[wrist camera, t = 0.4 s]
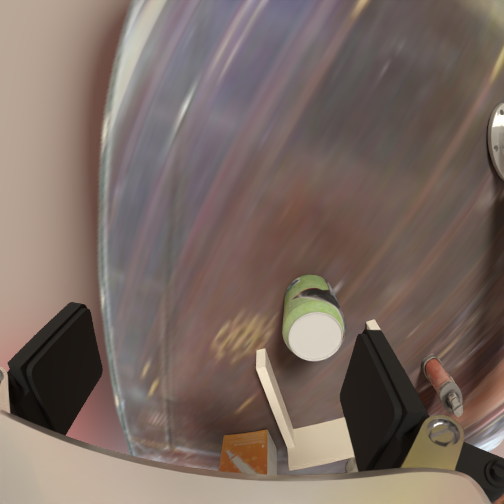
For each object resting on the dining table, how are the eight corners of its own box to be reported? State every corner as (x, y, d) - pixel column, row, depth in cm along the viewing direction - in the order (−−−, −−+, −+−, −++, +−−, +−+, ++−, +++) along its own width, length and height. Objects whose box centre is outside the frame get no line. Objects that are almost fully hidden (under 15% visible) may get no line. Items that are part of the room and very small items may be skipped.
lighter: (447, 376, 43) (471, 413, 33) (431, 387, 43) (453, 426, 34) (435, 350, 41) (463, 389, 31) (418, 362, 41) (443, 404, 32)
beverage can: (305, 324, 39) (319, 386, 28) (266, 288, 38) (267, 344, 27) (342, 292, 38) (371, 347, 26) (304, 253, 36) (322, 299, 25)
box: (374, 319, 39) (394, 353, 31) (380, 410, 45) (393, 444, 37) (256, 350, 41) (255, 390, 33) (287, 434, 47) (290, 470, 39)
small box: (267, 427, 46) (268, 491, 34) (277, 447, 48) (278, 506, 36) (222, 434, 47) (214, 495, 35) (234, 453, 49) (229, 510, 37)
